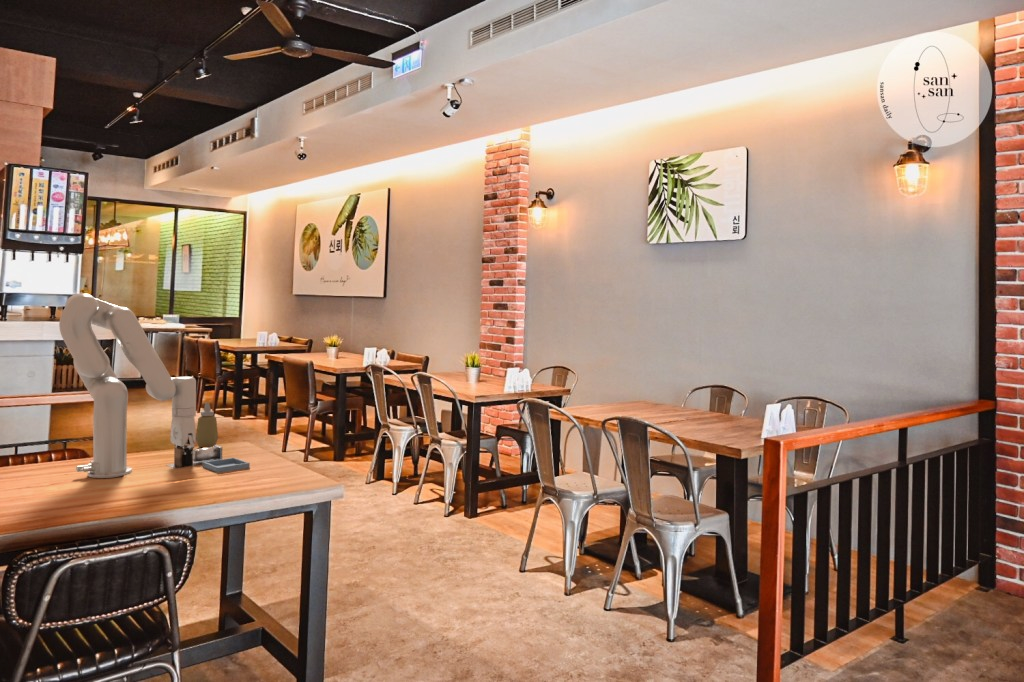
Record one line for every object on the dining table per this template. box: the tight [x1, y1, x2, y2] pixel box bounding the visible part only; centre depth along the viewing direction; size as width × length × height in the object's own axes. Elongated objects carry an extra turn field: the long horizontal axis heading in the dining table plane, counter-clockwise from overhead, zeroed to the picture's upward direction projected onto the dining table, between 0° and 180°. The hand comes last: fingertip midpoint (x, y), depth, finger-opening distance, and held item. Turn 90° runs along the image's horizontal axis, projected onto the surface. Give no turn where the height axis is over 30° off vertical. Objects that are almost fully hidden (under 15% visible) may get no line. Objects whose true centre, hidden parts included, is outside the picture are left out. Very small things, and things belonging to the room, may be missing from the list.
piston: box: [193, 444, 223, 462], centre depth 247 cm, size 9×5×5 cm, turn 138°
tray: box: [202, 457, 251, 475], centre depth 239 cm, size 11×11×2 cm
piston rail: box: [166, 459, 218, 470], centre depth 245 cm, size 18×7×1 cm, turn 138°
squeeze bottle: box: [195, 401, 219, 448], centre depth 273 cm, size 8×8×18 cm
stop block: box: [173, 447, 194, 468], centre depth 241 cm, size 4×4×6 cm
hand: (183, 463), depth 241 cm, fingers closed on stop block, 4 cm apart
